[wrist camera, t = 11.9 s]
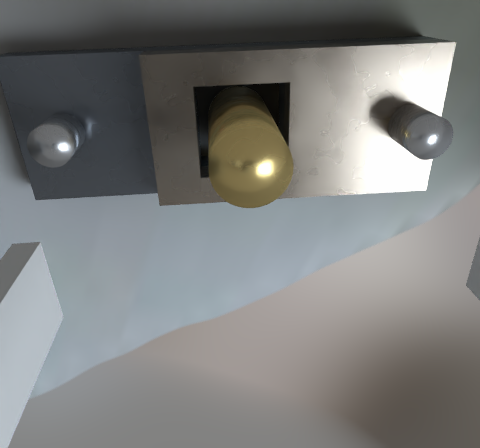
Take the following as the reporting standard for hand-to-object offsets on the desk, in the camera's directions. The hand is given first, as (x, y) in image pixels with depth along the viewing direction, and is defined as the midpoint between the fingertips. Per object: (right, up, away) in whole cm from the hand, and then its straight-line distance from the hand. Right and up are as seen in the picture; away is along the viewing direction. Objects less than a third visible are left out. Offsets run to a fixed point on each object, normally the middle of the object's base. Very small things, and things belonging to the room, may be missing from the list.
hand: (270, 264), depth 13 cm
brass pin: (-1, +9, +16) cm, 18 cm away
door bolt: (-1, +9, +16) cm, 18 cm away
